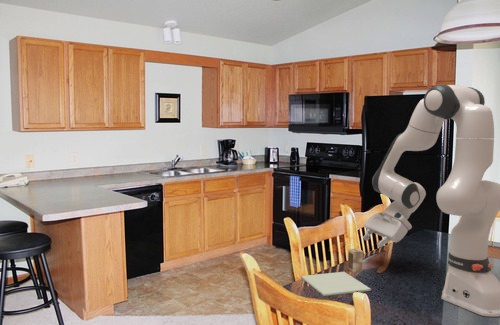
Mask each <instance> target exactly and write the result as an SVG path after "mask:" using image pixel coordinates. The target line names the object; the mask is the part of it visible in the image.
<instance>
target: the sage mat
mask: <svg viewBox="0 0 500 325" xmlns="http://www.w3.org/2000/svg"><path fill="white" fill-rule="evenodd" d="M300 278H301V279H302V280H303V281H304V282H306V284H308V285H309V286H310V287H311V288H313V289H315V290H316V291H317V293H319V294H320V295H322V296H323V297H328V296H334V295H335V296H336V295H343V294H352V293H353V292H354V293H356V292H355V291H358V292H357V293H361V292H362V293H363V292H368V291H372V288H371V287H369V286H368V285H365V284H364V283H363V282H361V281H360V280H358V279H356V278H355V277H353V276H351V275H350V274H348V273H347V272H345V271H339V272H338V271H337V272H328V273H318V274H311V275H310V274H308V275H300Z"/></svg>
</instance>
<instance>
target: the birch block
mask: <svg viewBox="0 0 500 325" xmlns="http://www.w3.org/2000/svg"><path fill="white" fill-rule="evenodd" d="M347 253H348V254H347V255H348V256H347V270H348V271H350V272H352V273H359V272H360V273H361V272H363V265H364V264H363V260H364V259H363V258H364V251H363V250H361V249H359V248H349V249H348V252H347Z"/></svg>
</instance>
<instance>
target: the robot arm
mask: <svg viewBox="0 0 500 325" xmlns="http://www.w3.org/2000/svg"><path fill="white" fill-rule="evenodd" d="M485 101H486V100H485V96H484V95H483V93H482V92H481V91H480V90H478V89H476V88H474V87H470V86H462V85H459V84H438V85H437V84H436V85H434V86H432V87H430V88H429V89H428V90H426V93H425V94H424V97H423V98H422V99H420V101H419V102H418V103H417V105H416V106H415V108H414V110H413V112H412V115H411V117H410V120H409V123H408V125H407V127H406V129H405V130H404V131H403V132H402V133H399V134H397V135H396V137H394V139H393V141H392V142H391V144H390V146H389V148H388V150H387V151H386V154H385V156H384V158H383V160H382V161H381V164H380V165H379V167H378V169H377V170H376V171H375V173H374V175H373V176H372V179H371V184H372V187H373V188H372V189H373V190H374V191H375V192H377V193H379V194H381V195H384V196H386V197H387V198H389V199H390V200H392V202H391V203H390V204H388V206H387V207H386V208H385V209H384V210H383V211H382V212H378V213H377V212H376V213H374V214H372V216H370V217H369V218H368V219H367V220H366V221H365V222H364V225H363V227H364V228H365V229H366V230H365V234H364V235H363V237H362V238H363V240H364V241H367V242H368V241H369V240H370V238H371V235H372V234H375V235H378V236H380V237H382V239H381V240H378V241H377V243H376V245H377V247H379V248H382V247H383V246H384V245H386V244H388V243H389V242H393V243H398V242H400V241H401V240H402V239H404V237H405V236H406V235H407V233H408V231H410V230H411V229H412V228H413V226H412V224H411V223H410V221H408V219H409V218H410V216H411V215H412V213H414V212H415V211H416V210H418V208H419V206H420V205H421V204H422V203H423V201H424V199H425V198H426V195H427V193H426V190H425V188H424V187H423V186H422V185H421V184H420V183H419V182H415V181H414V182H413V181H412V180H409V179H408V178H406V177H404V176H401V175H400V174H398V173H396V172H395V167H396V165H397V164H398V162H399V161H400V158H401V156H402V154H404V152H406V151H408V152H409V151H410V152H411V151H412V152H420V151H421V152H423V151H427V150H429V149H430V148H432V147H433V146H435V144H436V143H437V140H438V138H439V135H440V132H441V129H442V127H443V124H444V121H448V120H453V122H454V123H455V126H456V134H455V151H454V158H453V159H454V161H453V164H452V168H451V171H450V174H449V175H448V177H447V179H446V181H445V182H444V184H443V185H442V186H440V187H439V188H438V190H437V192H436V196H435V197H436V203H437V204H436V205H437V206H438V208H439V210H441V212H442V213H444V214H447V215H451V216H458V217H460V219H459V220H458V222H457V223H456V225H454V226H453V228H452V229H451V233H450V244H449V247H450V248H449V252H448V256H447V264H448V268H447V271H446V276H445V281H444V282H445V283H444V285H443V289H442V290H441V297H440V298H441V300H442V301H445V302H447V303H450V304H453V305H455V306H458V307H460V308H462V309H464V310H467V311H469V312H472V313H475V314H477V315H480V316H482V317H492V318H493V317H500V280H499V279H498V278H497V277H496V276H495V274H493V272H492V268H494V265H495V263H492V262H491V263H490V261H489V258H488V250H489V247H488V246H489V240H490V234H491V229H492V227H493V225H494V222H495V219H496V217H497V215H498V214H499V212H500V183H498V182H495V181H491V180H484V179H483V177H484V175H485V173H486V171H487V170H488V169H489V168H490V167H491V166H492V164H493V162H494V145H495V124H494V115H493V111H492V109H491V108H490V107H488V106H487V105H485V104H486V102H485Z"/></svg>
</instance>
